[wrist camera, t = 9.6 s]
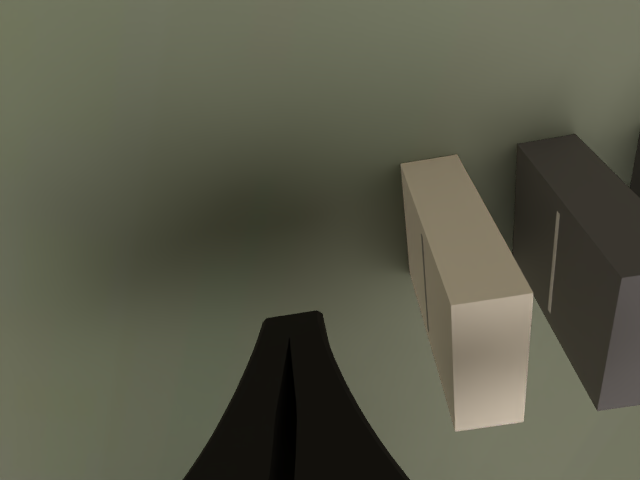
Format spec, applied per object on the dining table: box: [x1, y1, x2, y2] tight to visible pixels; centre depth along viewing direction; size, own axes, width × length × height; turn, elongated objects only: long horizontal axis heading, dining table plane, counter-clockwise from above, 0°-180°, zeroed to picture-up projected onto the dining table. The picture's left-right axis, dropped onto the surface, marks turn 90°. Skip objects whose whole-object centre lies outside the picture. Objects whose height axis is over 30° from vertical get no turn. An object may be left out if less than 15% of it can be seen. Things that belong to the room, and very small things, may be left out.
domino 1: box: [400, 155, 533, 431], centre depth 15 cm, size 2×4×6 cm, turn 9°
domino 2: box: [513, 134, 640, 411], centre depth 14 cm, size 2×4×6 cm, turn 9°
